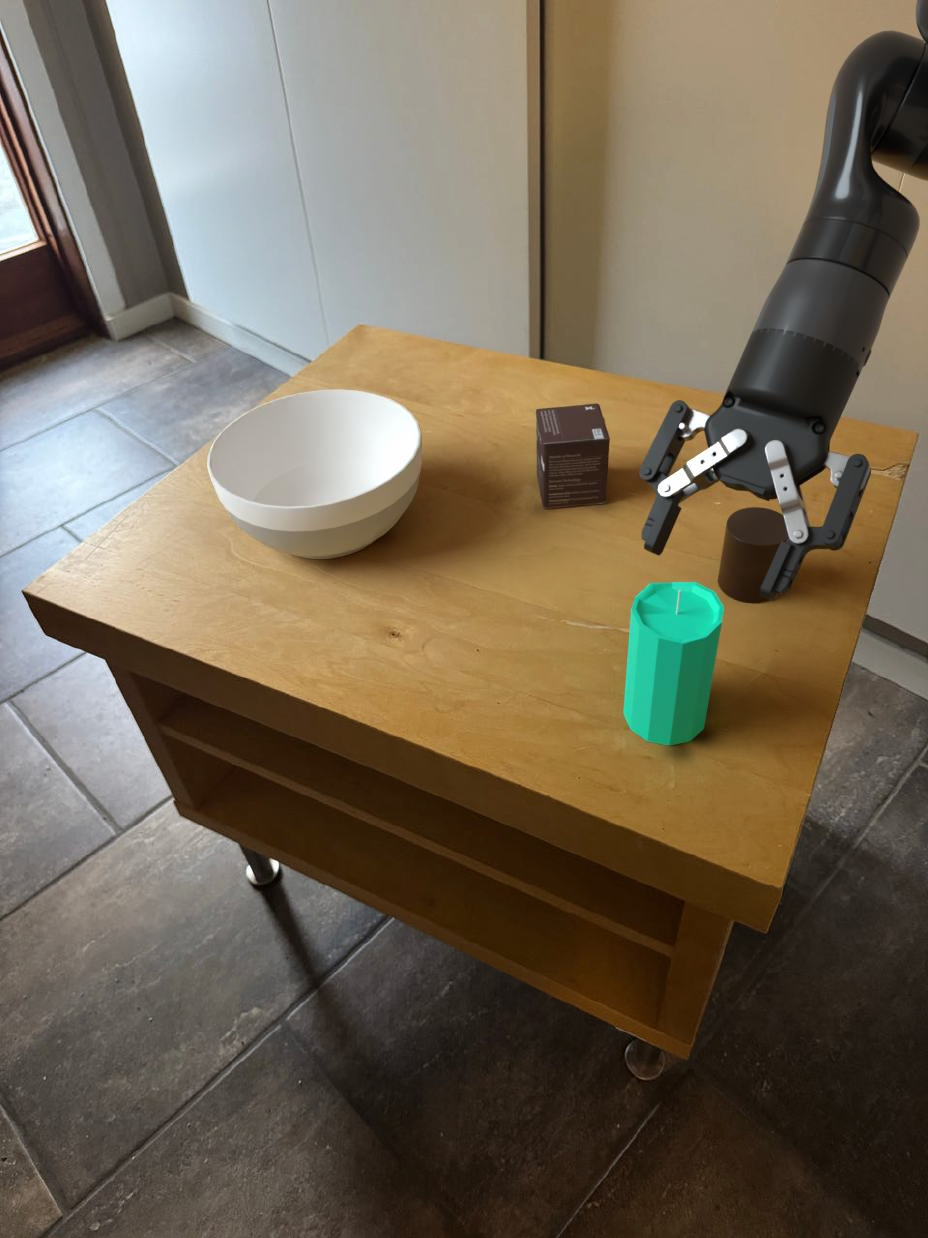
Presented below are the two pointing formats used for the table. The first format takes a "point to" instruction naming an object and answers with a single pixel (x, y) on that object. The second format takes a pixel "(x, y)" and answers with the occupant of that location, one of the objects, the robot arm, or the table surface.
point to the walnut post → (749, 551)
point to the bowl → (318, 470)
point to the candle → (671, 660)
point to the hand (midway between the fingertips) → (707, 574)
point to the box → (572, 455)
